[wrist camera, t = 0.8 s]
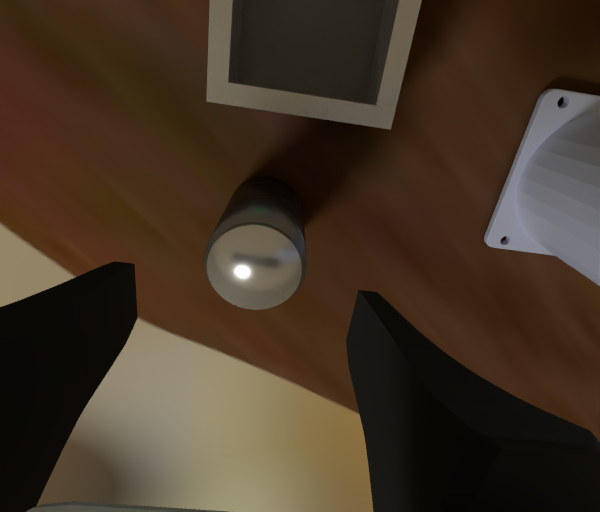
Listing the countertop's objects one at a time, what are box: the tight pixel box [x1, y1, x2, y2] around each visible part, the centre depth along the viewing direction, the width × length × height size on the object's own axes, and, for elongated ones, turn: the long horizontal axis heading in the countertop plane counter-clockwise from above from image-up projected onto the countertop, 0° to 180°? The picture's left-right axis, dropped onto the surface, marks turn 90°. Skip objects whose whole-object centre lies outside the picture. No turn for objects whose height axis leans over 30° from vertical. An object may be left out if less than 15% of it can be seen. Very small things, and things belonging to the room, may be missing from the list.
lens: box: [204, 177, 307, 310], centre depth 17 cm, size 4×4×6 cm
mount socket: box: [207, 0, 422, 130], centre depth 14 cm, size 7×7×4 cm
